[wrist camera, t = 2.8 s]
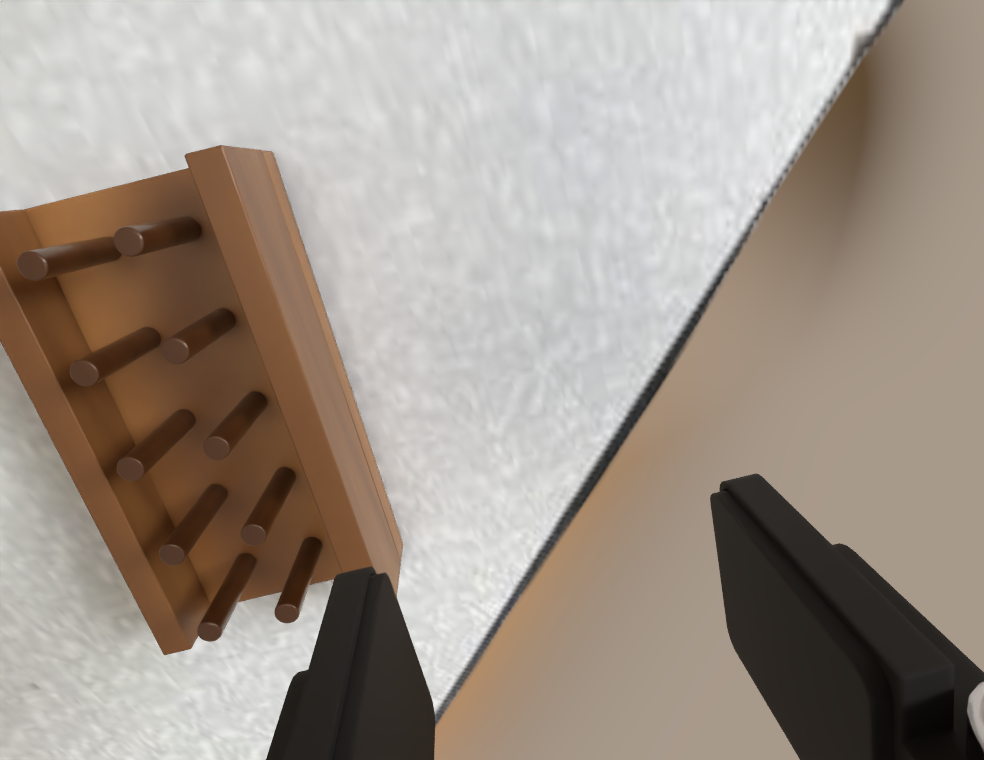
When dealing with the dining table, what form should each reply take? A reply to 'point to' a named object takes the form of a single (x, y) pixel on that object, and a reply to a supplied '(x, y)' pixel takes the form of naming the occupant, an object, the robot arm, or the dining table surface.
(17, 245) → the rack
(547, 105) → the dining table surface
